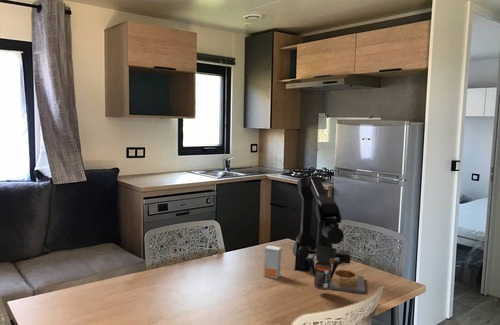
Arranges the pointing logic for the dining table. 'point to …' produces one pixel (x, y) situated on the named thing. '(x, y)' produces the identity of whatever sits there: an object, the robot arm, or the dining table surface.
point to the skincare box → (272, 261)
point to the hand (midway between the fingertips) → (322, 276)
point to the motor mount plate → (347, 281)
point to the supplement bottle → (322, 275)
